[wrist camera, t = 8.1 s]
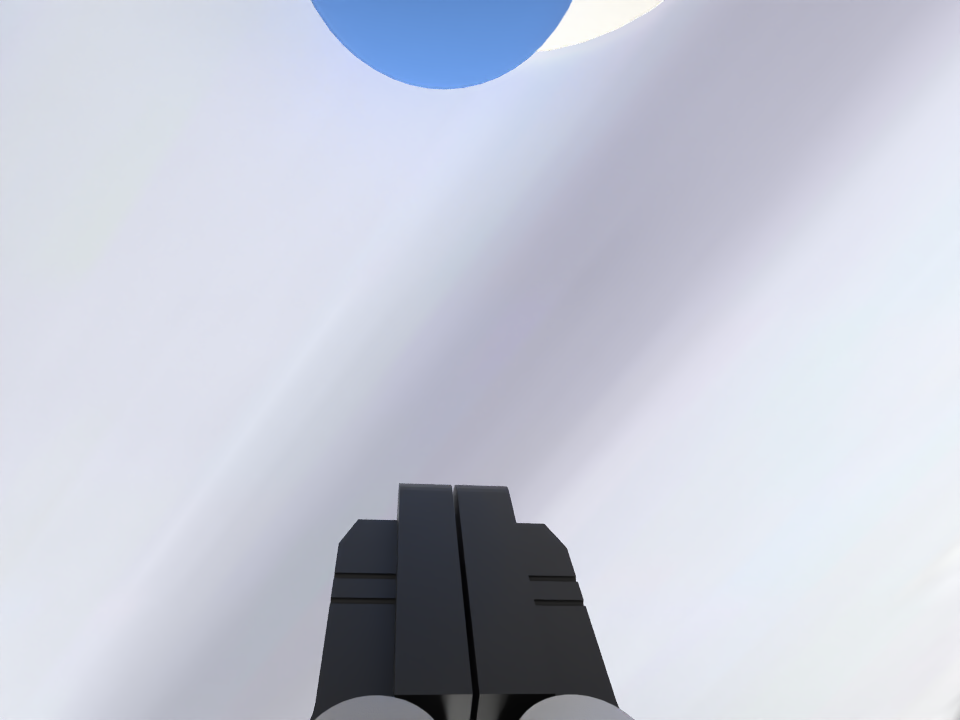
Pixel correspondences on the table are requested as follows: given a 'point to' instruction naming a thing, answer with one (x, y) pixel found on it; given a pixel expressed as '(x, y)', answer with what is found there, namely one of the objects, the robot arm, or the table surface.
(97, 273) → the table surface
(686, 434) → the table surface
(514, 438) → the table surface
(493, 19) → the ball
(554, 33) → the disc
